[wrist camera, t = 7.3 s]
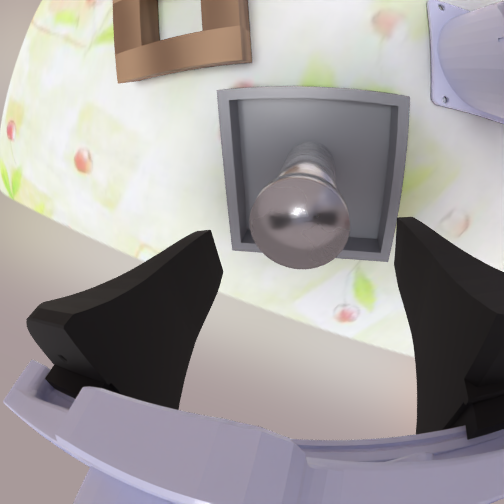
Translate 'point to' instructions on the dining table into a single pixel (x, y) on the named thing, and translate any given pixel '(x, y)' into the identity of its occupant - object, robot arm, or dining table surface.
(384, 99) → the tray
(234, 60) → the holder block
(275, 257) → the steel pin
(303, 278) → the dining table surface
